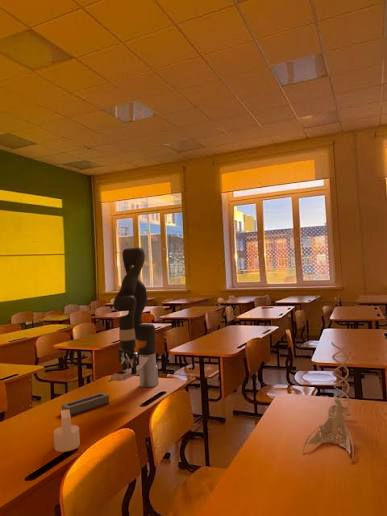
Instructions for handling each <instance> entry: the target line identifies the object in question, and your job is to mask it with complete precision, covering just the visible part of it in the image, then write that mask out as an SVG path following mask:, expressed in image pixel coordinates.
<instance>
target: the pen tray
mask: <svg viewBox="0 0 387 516" xmlns="http://www.w3.org/2000/svg"><path fill="white" fill-rule="evenodd" d="M108 403H109V404H110V395H109V394H107V393H104V392H99V393H95V394H92V395H89V396H85V397H82V398H78V399H77V400H73V401H69V402H67V403H62V404H61V411H62V410H68V409H69V411H70V416H71V417H72V416H76V415H80V414H82V413H85V412H89V411H91V410H93V409H97V408H99V406H100V407H103V406H106V405H109V404H108ZM105 404H106V405H105ZM102 405H103V406H102ZM96 407H97V408H96Z"/></svg>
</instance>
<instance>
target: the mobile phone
mask: <svg viewBox="0 0 387 516" xmlns="http://www.w3.org/2000/svg"><path fill="white" fill-rule="evenodd" d="M148 359H149V358H147V357H140V358H139V365H137V366H136V374H135V375H132V371H131V367H129V368H127V369H126V370H124V371H123V370H119V371H116V372H114V373H113V374H112V375H110V379H109V380H107V383H111V382H113V381H115V382H123V381H124V382H125V381H126V380H128V379H130V378H133V377H135V376H137V375H139V373H140V370H141V368H142V367H143V366H144V365H145V363H146V362H147V360H148ZM136 363H137V361H136Z"/></svg>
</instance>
